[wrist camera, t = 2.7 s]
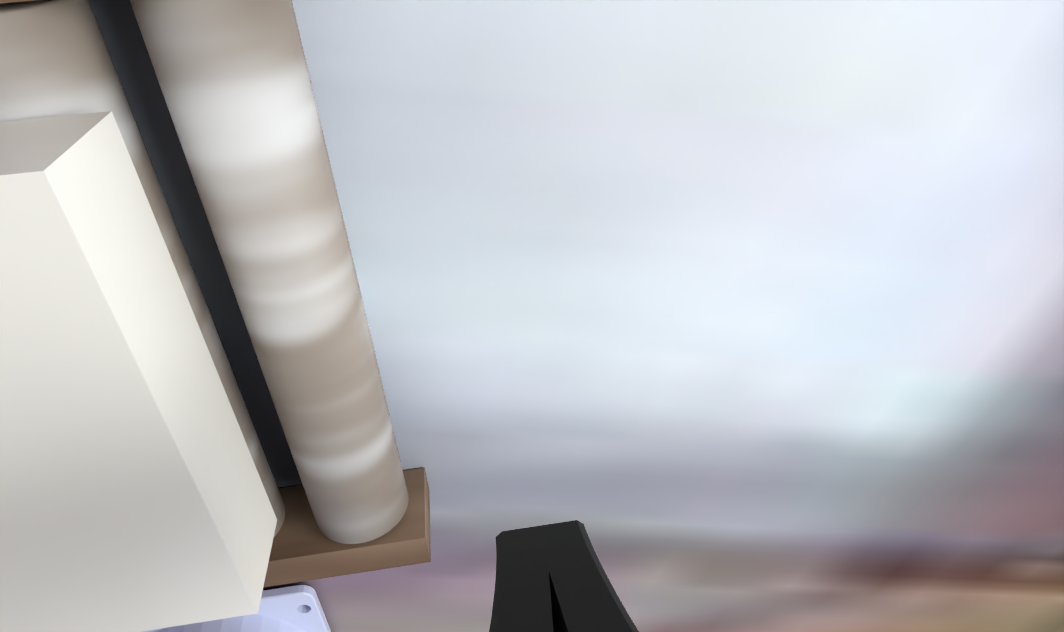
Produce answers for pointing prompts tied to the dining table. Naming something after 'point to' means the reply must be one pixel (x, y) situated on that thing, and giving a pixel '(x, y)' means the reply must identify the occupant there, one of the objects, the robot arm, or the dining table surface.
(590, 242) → the dining table surface
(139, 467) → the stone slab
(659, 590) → the dining table surface
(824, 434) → the dining table surface
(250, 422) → the roller track
